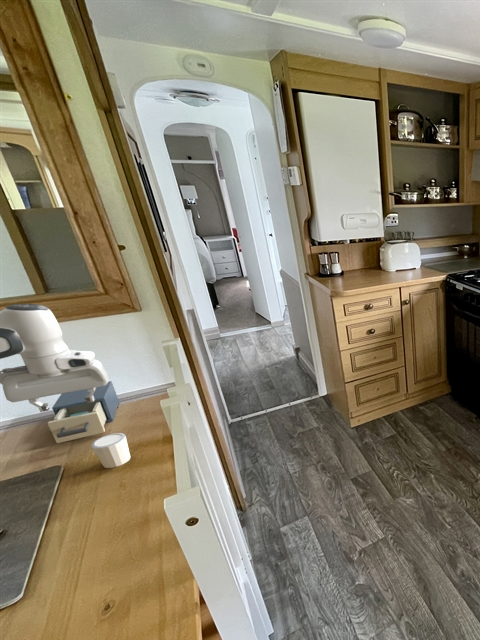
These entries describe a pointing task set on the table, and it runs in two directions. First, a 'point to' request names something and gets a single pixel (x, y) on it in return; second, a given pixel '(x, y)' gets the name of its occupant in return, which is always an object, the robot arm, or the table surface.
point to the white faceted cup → (112, 450)
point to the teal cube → (79, 413)
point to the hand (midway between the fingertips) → (68, 405)
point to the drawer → (78, 422)
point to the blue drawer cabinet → (78, 398)
